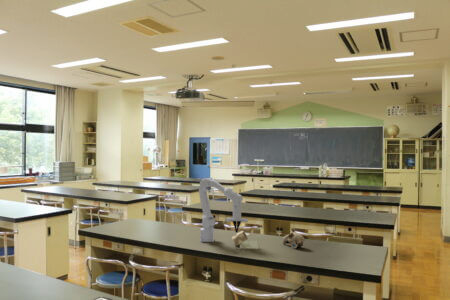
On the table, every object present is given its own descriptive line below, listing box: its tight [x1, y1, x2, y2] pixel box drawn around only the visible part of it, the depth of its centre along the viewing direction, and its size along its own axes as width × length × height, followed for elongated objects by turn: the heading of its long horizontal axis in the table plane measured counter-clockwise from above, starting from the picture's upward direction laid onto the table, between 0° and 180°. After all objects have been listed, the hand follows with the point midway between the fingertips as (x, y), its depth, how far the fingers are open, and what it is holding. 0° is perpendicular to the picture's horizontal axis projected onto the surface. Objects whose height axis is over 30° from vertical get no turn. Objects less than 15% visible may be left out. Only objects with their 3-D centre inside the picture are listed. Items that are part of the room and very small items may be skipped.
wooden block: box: [231, 230, 248, 246], centre depth 235 cm, size 5×8×9 cm
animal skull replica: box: [282, 231, 305, 250], centre depth 232 cm, size 8×17×10 cm, turn 40°
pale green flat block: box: [238, 240, 260, 250], centre depth 235 cm, size 13×20×2 cm, turn 0°
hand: (236, 232), depth 236 cm, fingers closed
